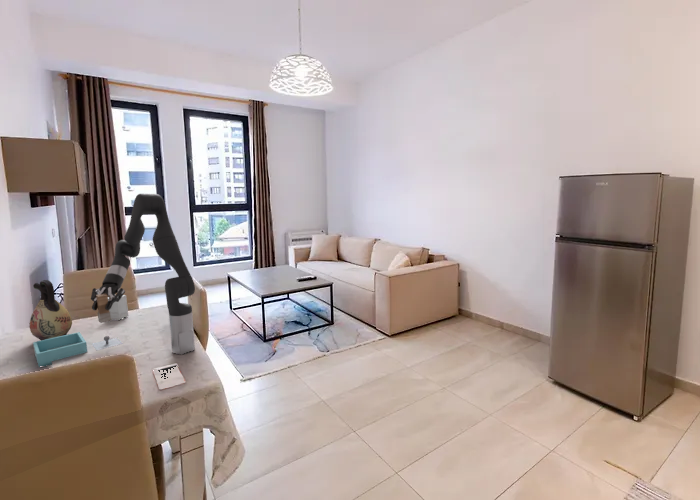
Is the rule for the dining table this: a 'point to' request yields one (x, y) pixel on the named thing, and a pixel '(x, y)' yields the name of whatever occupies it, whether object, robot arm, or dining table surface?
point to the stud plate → (107, 343)
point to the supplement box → (119, 309)
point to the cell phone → (166, 368)
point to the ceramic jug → (49, 314)
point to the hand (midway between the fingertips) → (100, 309)
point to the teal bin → (62, 352)
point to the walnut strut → (103, 308)
